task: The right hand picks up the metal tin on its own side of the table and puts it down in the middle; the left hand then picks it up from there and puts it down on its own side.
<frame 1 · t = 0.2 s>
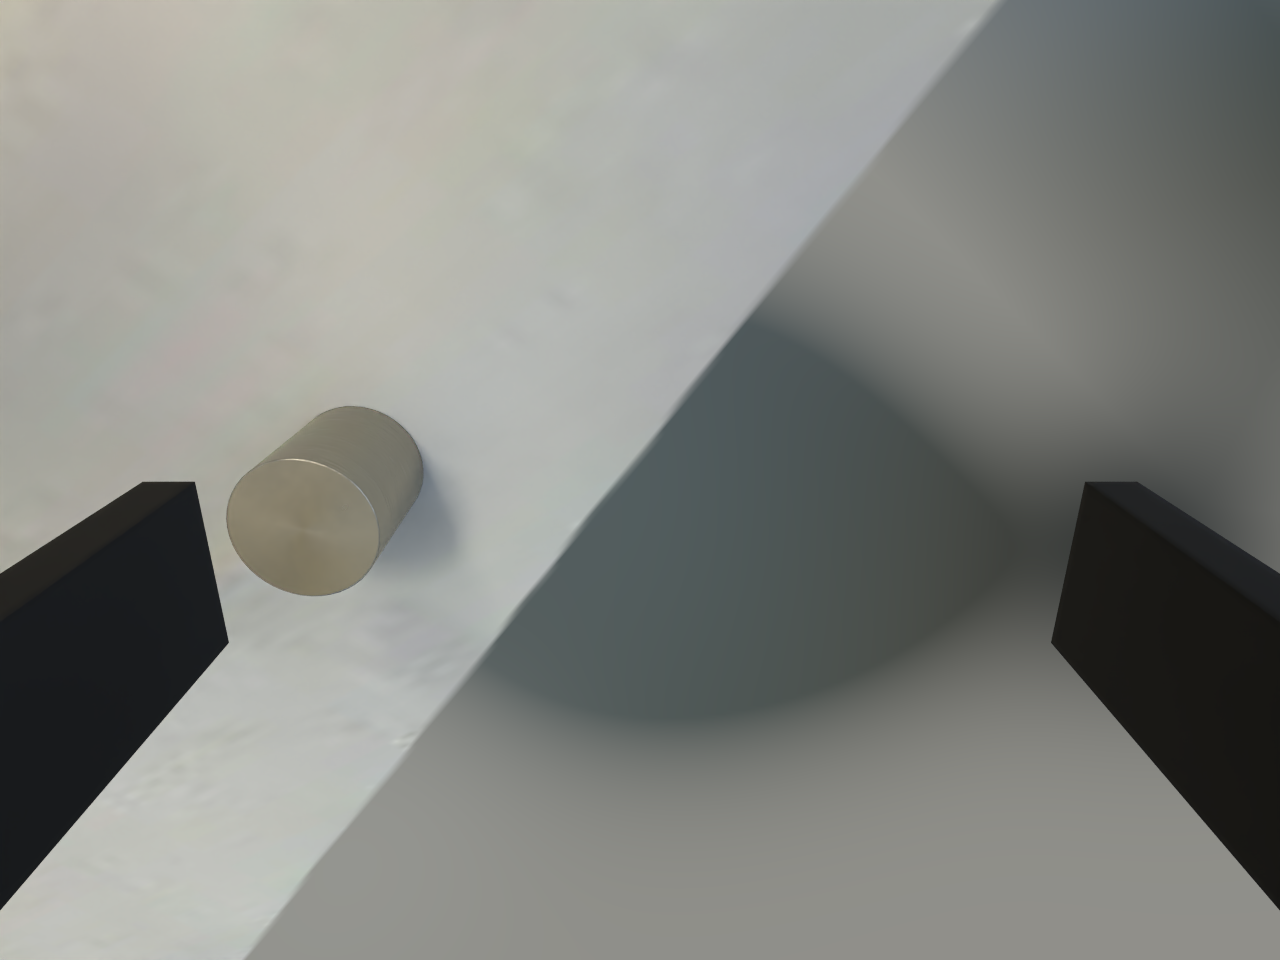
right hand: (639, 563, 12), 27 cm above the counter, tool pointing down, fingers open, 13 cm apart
tin: (359, 466, 41), on the counter
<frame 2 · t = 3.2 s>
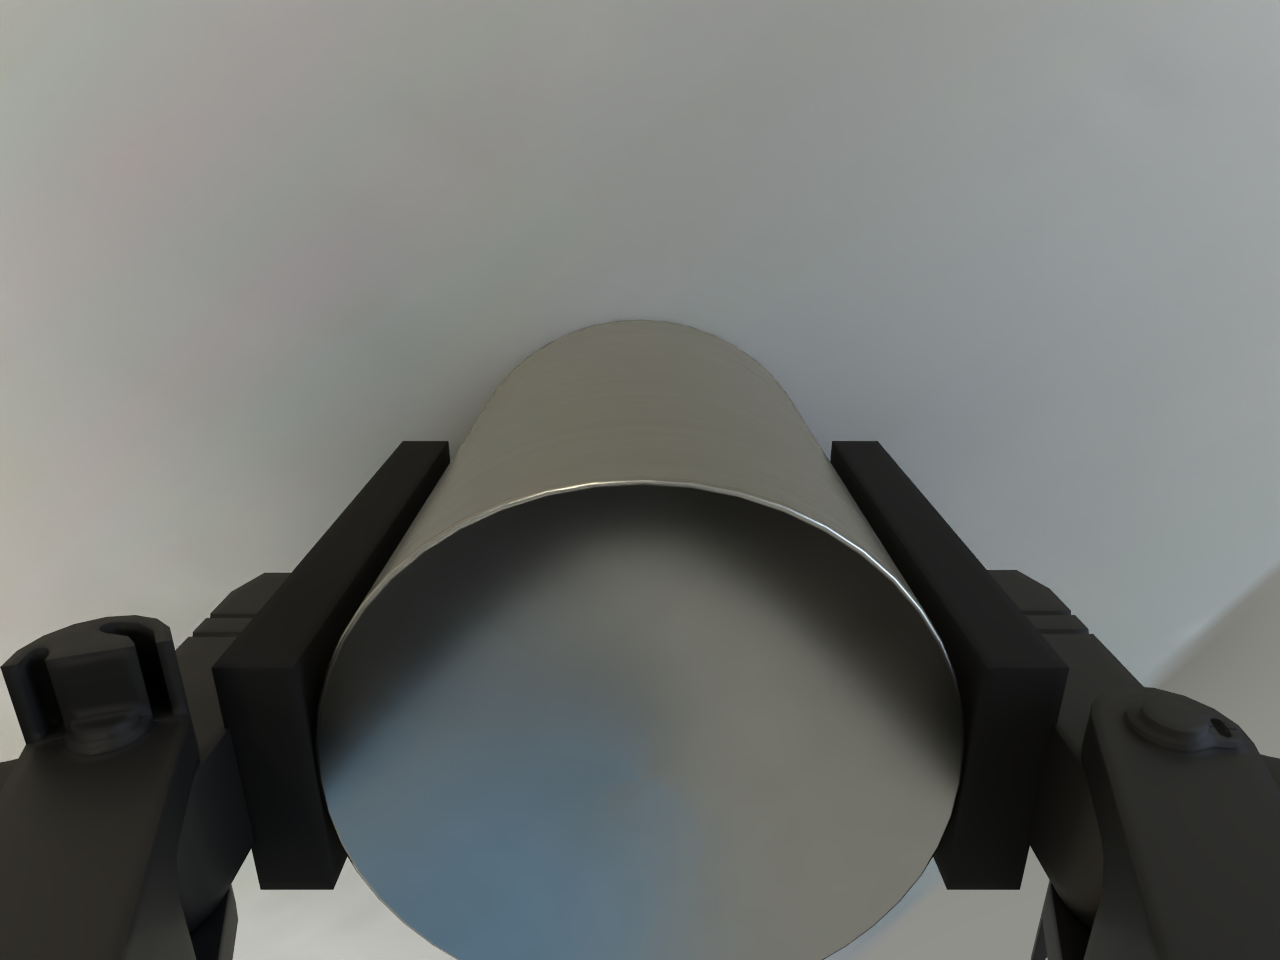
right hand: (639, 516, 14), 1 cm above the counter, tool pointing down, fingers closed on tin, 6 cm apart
tin: (640, 493, 15), on the counter, touching right hand
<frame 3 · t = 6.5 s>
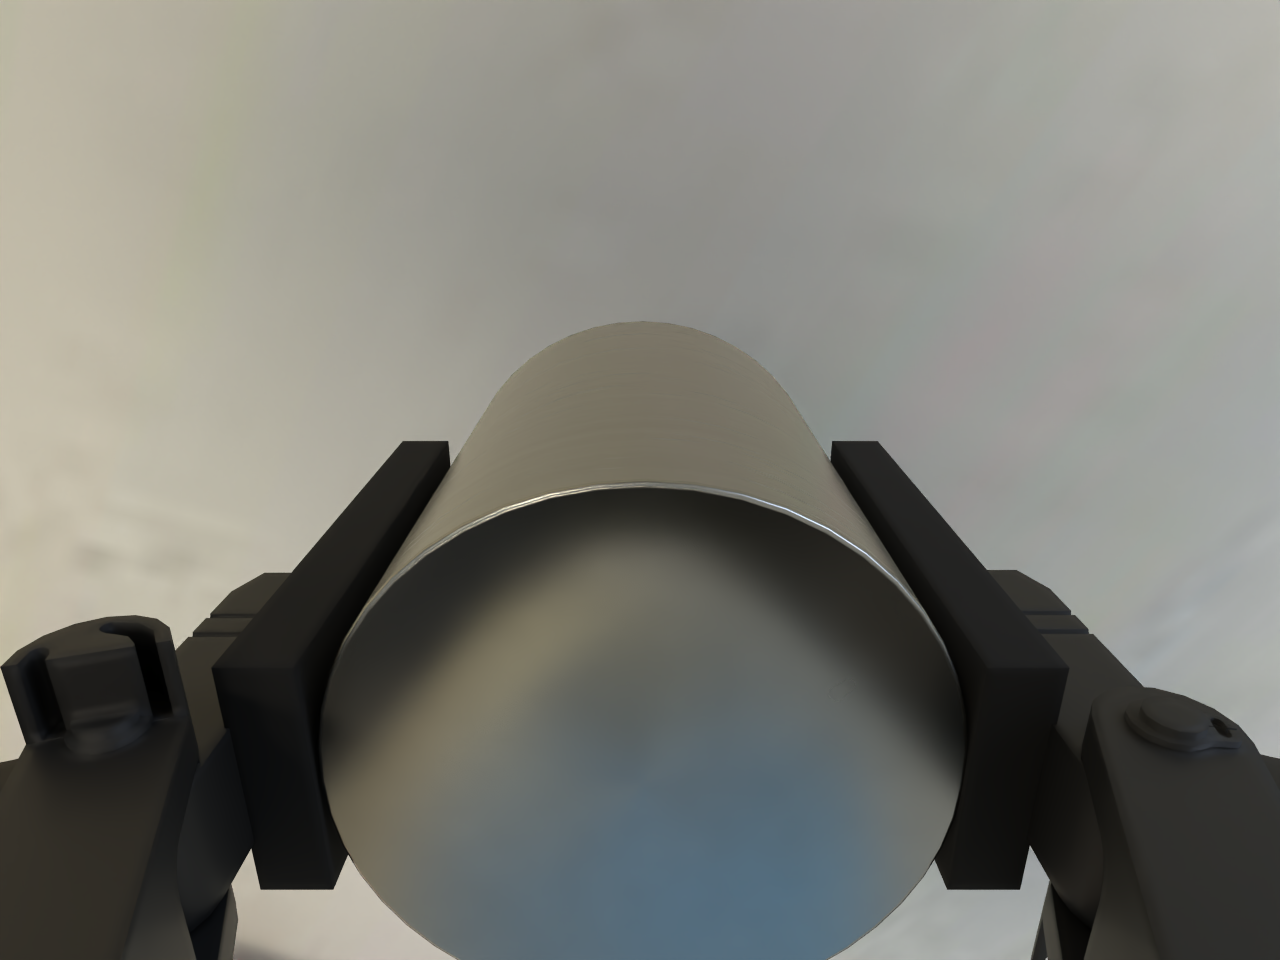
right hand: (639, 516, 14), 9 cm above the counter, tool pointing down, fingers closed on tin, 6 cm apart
tin: (641, 494, 15), point 8 cm above the counter, touching right hand
when the right hand's fingers open (3 cm above the counter, at t = 9.7 s): tin drops 1 cm, on the counter.
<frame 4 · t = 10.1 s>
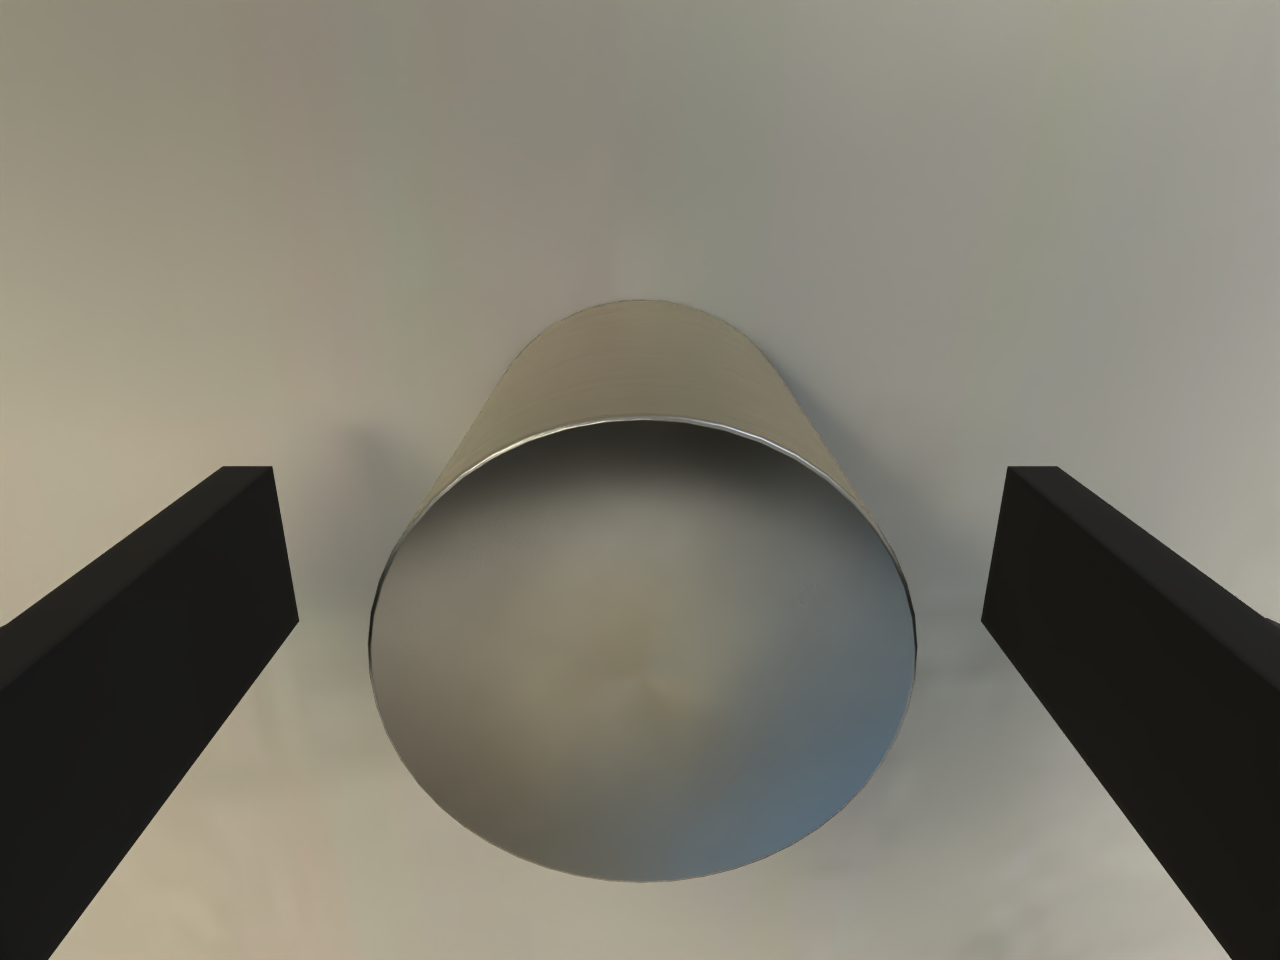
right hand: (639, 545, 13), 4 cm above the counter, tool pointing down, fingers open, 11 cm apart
tin: (641, 459, 16), on the counter
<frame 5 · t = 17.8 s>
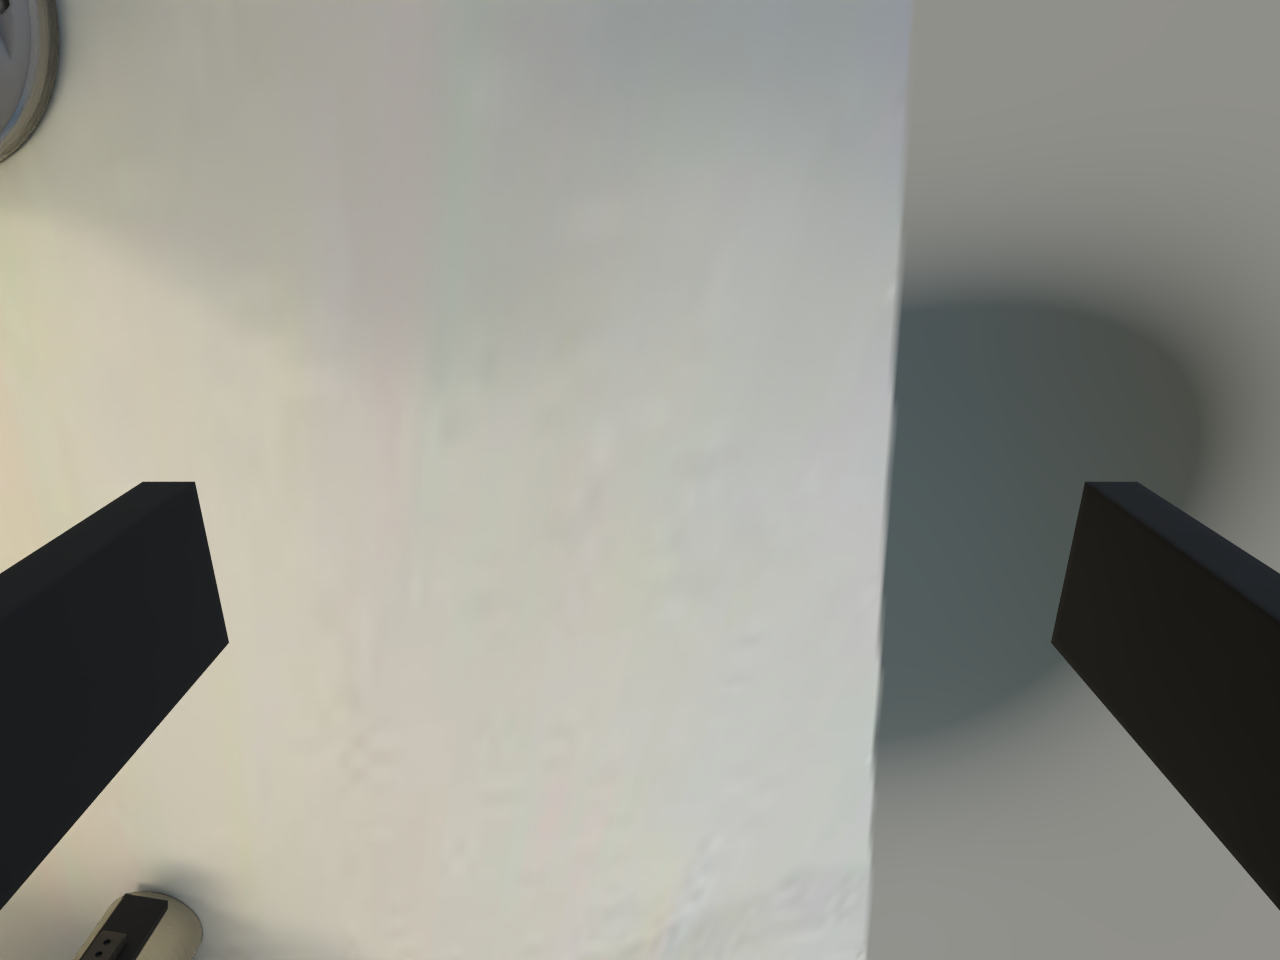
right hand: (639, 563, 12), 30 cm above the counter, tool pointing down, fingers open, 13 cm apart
tin: (155, 926, 56), on the counter, touching left hand
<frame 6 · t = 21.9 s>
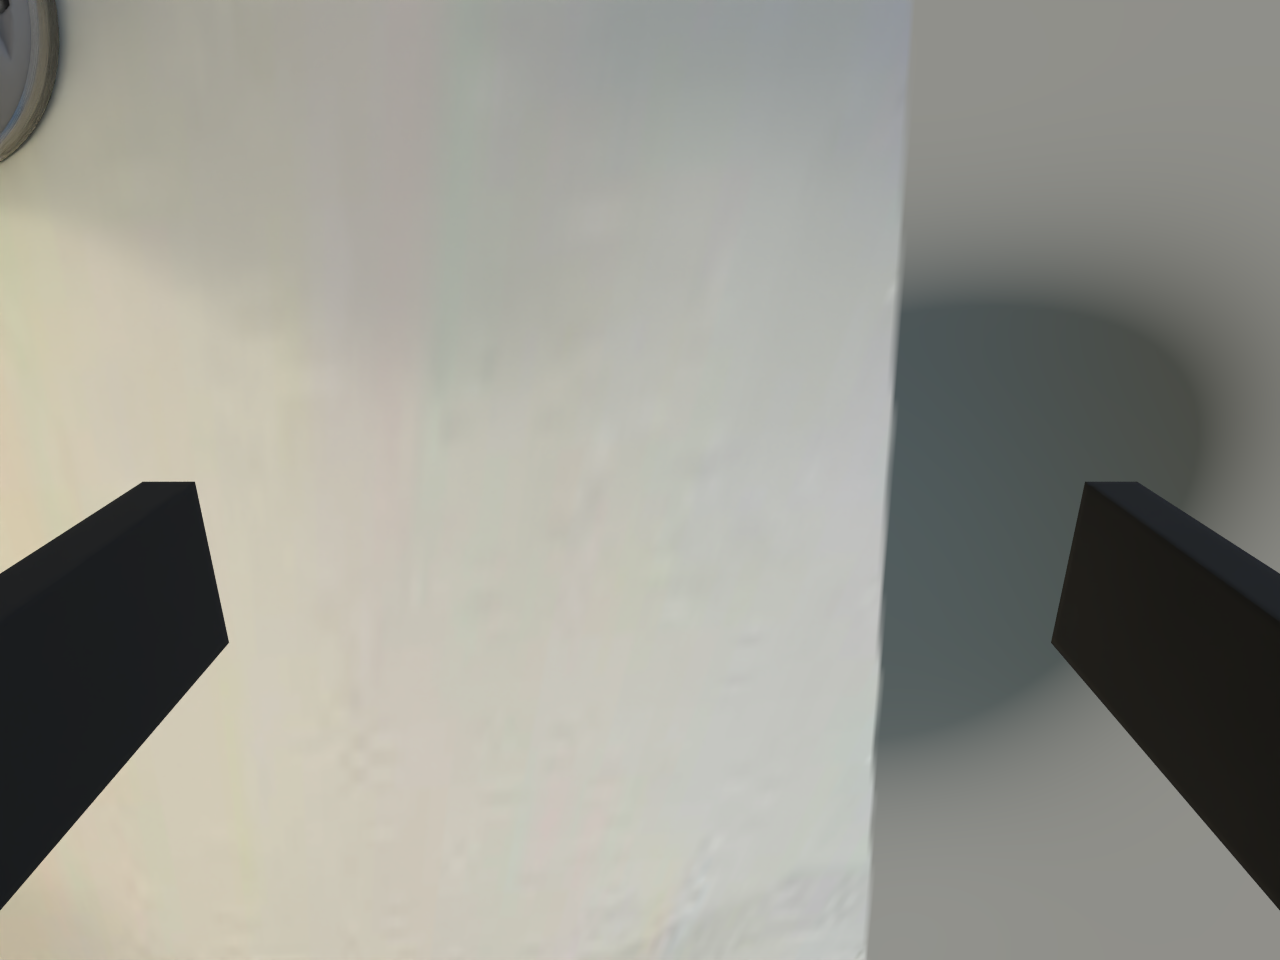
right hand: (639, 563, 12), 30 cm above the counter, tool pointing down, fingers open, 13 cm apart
when the left hand's fingers open (3 cm above the counter, at t = 26.3 s): tin drops 1 cm, on the counter.
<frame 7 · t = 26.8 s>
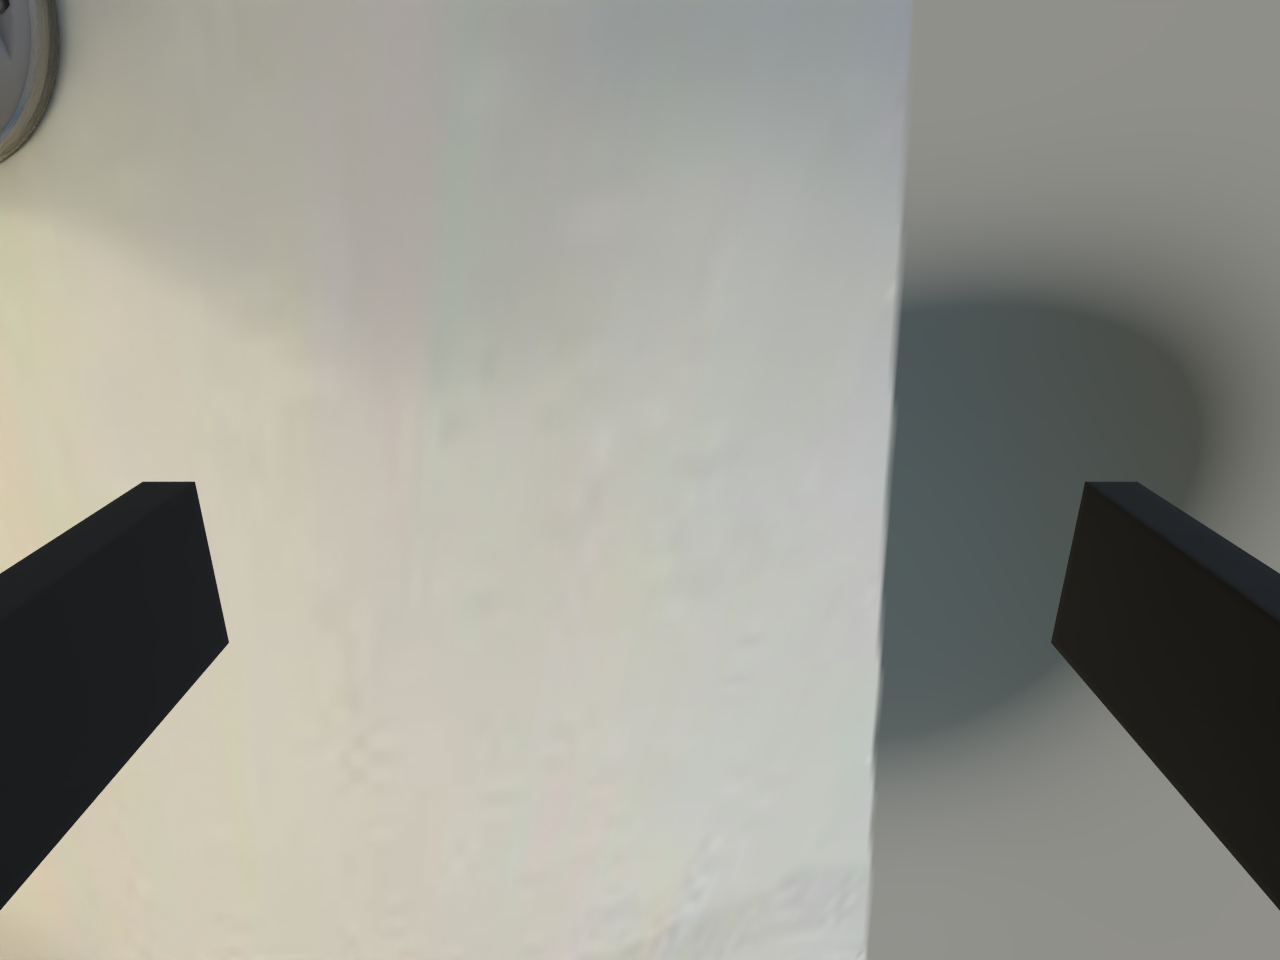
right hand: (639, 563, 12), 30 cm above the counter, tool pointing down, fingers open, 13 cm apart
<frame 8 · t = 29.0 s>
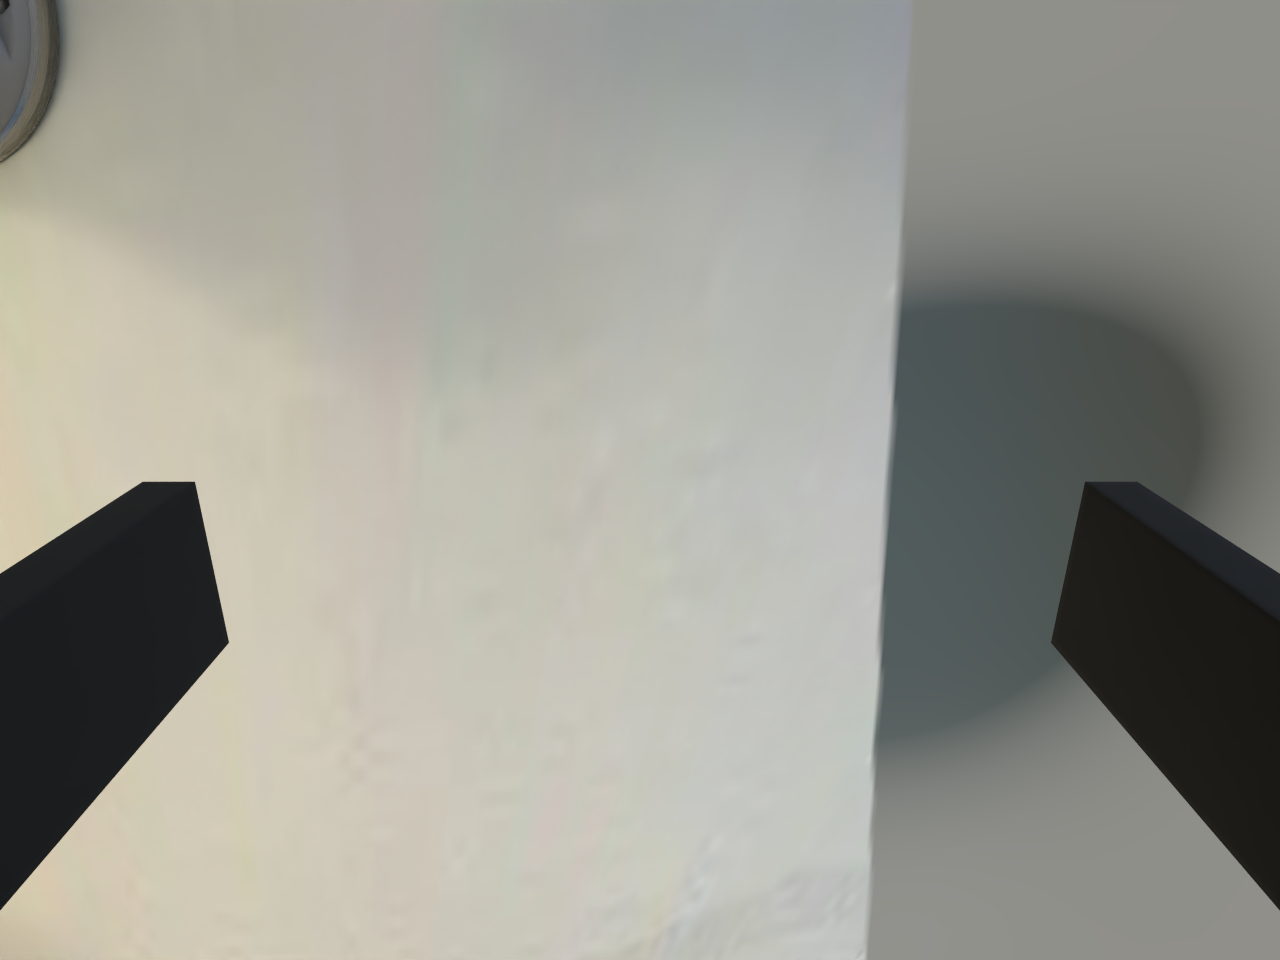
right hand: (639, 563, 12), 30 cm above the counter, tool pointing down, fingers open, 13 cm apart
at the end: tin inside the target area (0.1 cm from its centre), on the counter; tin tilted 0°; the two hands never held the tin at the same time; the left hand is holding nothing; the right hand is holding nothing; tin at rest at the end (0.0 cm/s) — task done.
